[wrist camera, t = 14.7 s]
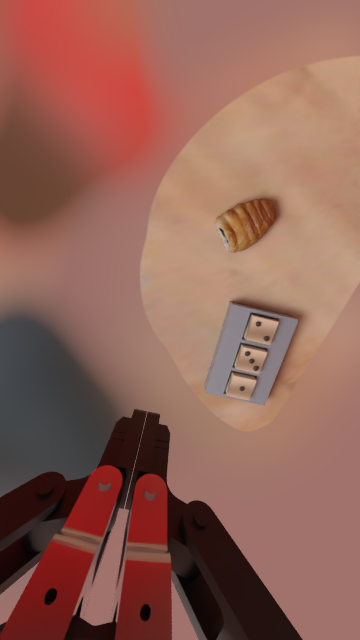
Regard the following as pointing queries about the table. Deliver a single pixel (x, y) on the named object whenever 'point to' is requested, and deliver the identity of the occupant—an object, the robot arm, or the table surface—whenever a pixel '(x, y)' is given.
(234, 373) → the button
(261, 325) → the button
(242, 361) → the button
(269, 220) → the pastry
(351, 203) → the table surface
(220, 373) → the panel
